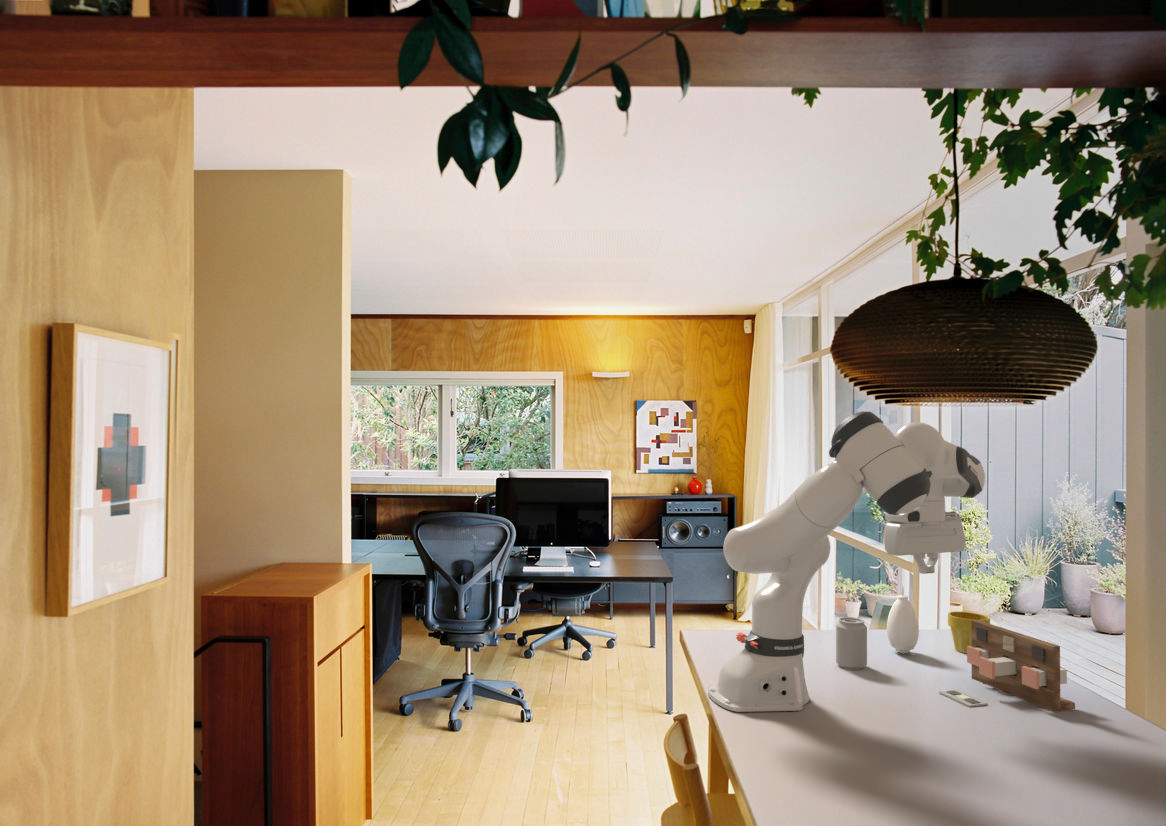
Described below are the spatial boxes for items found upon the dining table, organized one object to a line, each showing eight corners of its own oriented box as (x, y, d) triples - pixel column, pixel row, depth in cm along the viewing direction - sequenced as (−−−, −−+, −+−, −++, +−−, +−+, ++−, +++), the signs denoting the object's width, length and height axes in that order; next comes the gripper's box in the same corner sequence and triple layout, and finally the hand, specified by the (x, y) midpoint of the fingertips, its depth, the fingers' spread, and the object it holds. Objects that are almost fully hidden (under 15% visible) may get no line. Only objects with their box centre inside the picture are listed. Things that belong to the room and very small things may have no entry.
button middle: (991, 679, 171) (991, 662, 171) (978, 673, 175) (978, 657, 175) (1023, 675, 174) (1023, 659, 174) (1010, 670, 177) (1010, 654, 177)
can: (862, 662, 198) (862, 616, 198) (870, 671, 191) (870, 623, 191) (833, 661, 199) (833, 615, 199) (839, 670, 191) (839, 622, 192)
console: (1051, 712, 164) (1051, 646, 164) (970, 678, 186) (970, 620, 186) (1075, 709, 165) (1074, 644, 166) (991, 676, 187) (991, 619, 188)
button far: (979, 666, 180) (979, 650, 180) (967, 662, 184) (967, 646, 184) (1009, 664, 182) (1009, 648, 182) (996, 659, 186) (996, 643, 186)
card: (968, 707, 166) (968, 704, 166) (939, 693, 175) (939, 690, 175) (987, 705, 168) (987, 702, 168) (957, 691, 176) (957, 689, 176)
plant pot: (984, 647, 213) (983, 612, 213) (995, 657, 203) (994, 621, 203) (944, 644, 215) (943, 609, 216) (953, 655, 205) (952, 618, 206)
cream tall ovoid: (881, 649, 210) (881, 584, 210) (905, 647, 212) (905, 582, 212) (899, 657, 202) (899, 589, 203) (924, 656, 204) (924, 588, 205)
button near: (1036, 689, 165) (1036, 671, 165) (1021, 683, 168) (1021, 666, 168) (1068, 685, 167) (1068, 668, 167) (1053, 680, 171) (1053, 663, 171)
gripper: (950, 510, 182) (952, 568, 181) (878, 513, 176) (881, 573, 175) (970, 511, 176) (973, 572, 175) (898, 515, 170) (900, 578, 169)
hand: (926, 573), depth 175 cm, fingers closed
